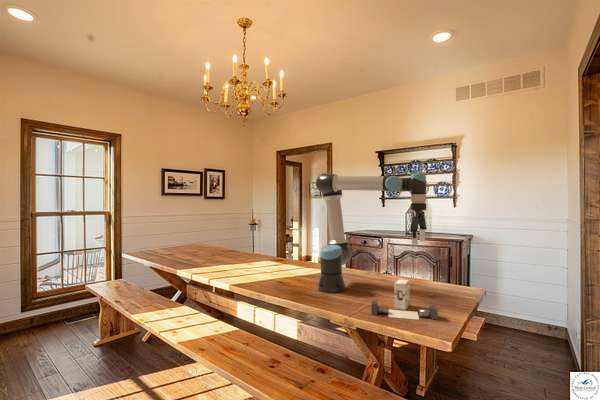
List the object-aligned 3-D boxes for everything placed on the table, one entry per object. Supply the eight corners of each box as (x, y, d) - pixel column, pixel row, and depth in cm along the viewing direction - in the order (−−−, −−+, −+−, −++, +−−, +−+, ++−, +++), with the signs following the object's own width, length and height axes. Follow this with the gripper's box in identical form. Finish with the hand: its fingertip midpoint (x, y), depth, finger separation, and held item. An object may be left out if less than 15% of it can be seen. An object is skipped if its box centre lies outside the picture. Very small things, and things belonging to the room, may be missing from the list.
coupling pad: (388, 317, 131) (388, 316, 131) (388, 310, 140) (388, 309, 140) (419, 320, 128) (419, 319, 128) (417, 312, 136) (417, 311, 136)
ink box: (399, 303, 149) (399, 278, 149) (410, 305, 146) (409, 279, 146) (394, 308, 141) (394, 282, 142) (405, 310, 139) (405, 283, 139)
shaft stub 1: (371, 314, 135) (371, 304, 135) (372, 310, 140) (372, 300, 140) (387, 315, 133) (387, 305, 133) (387, 311, 138) (387, 301, 138)
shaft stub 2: (420, 318, 130) (420, 307, 130) (419, 314, 134) (419, 303, 134) (437, 320, 128) (437, 309, 128) (435, 315, 133) (435, 305, 133)
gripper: (419, 203, 154) (419, 246, 154) (432, 202, 174) (432, 240, 174) (403, 202, 158) (403, 245, 158) (418, 202, 178) (418, 239, 178)
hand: (418, 243), depth 166 cm, fingers open, 13 cm apart
